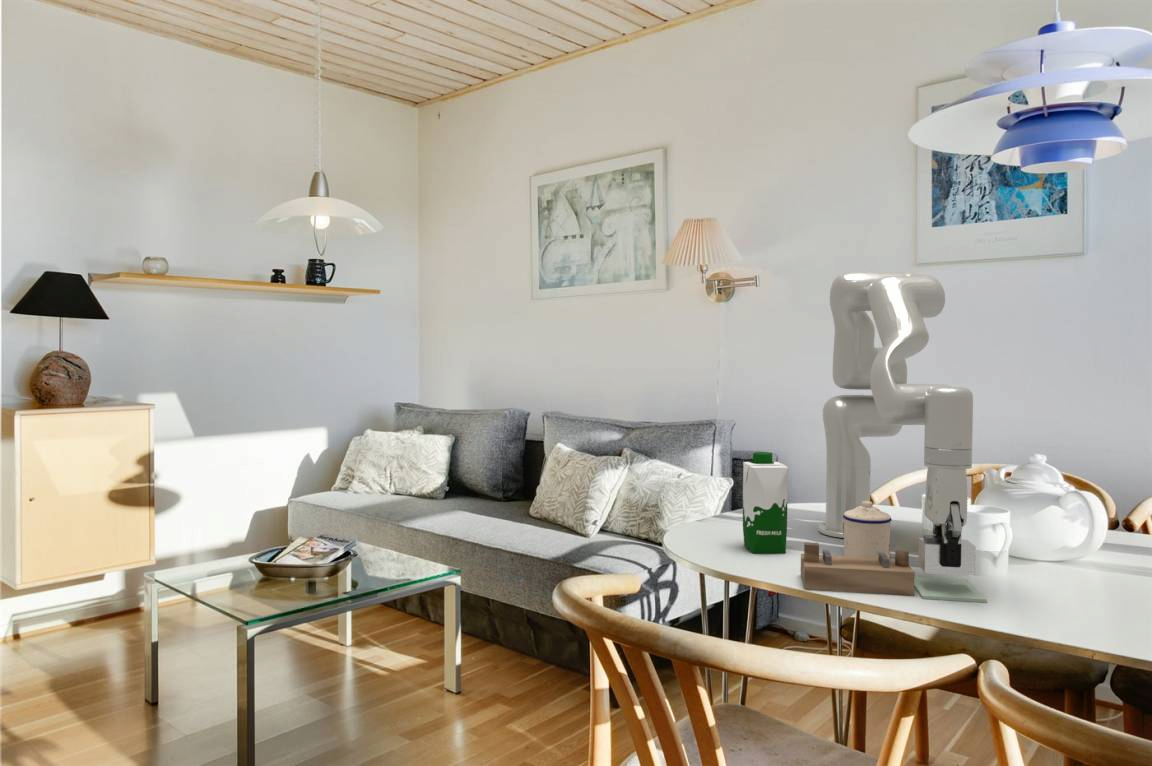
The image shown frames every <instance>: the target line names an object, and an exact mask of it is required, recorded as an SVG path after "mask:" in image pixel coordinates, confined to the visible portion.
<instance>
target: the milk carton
mask: <svg viewBox="0 0 1152 766" xmlns="http://www.w3.org/2000/svg"><path fill="white" fill-rule="evenodd" d="M742 465H743V467H742V469H743V470H742V471H743V473H742V474H743V475H742V476H743V478H742V532H743V533H742V534H743V545H744V547H746V548H747V549H748V551H749V552H751V553H752V554H786V553H787V536H788V535H787V534H788V496H789V495H788V484H789V483H788V481H789V467H788V466H787V465H786V464H784V463H781V462H779V461H773V452H767V451H765V452H764V451H758V452H756V451H755V452H753V453H752V461H743V463H742Z"/></svg>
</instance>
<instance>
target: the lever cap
mask: <svg viewBox="0 0 1152 766" xmlns="http://www.w3.org/2000/svg"><path fill="white" fill-rule="evenodd" d="M940 543H943V541H942V536H936V535H933V534H932V535H931V534H923V537H918V556H917V557H918V558H917V559H918V563H917V565H918V567H919V568H920V569H921V571H922V572H923V573H924V574H933V575H934V574H935V575H955V576H971V577H973V576H976V547H977V546H976V545H974V544H973V543H972V542H971V541H970V540H968V539H961V567H942V566H941V565H940Z"/></svg>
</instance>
